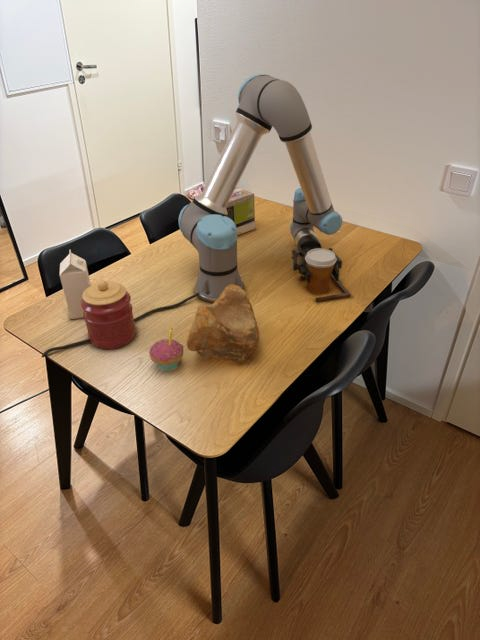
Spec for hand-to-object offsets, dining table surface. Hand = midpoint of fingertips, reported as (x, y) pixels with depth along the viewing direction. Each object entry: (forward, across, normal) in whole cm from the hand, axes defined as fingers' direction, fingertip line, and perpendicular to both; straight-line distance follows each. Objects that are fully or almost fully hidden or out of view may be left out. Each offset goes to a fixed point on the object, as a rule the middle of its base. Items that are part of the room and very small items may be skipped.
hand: (323, 278), depth 149 cm
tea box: (-51, +24, -7) cm, 57 cm away
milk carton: (0, +73, -7) cm, 73 cm away
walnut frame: (-5, -2, -7) cm, 8 cm away
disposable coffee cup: (-5, 0, -7) cm, 8 cm away
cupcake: (+28, +46, -7) cm, 55 cm away
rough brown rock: (+23, +30, -7) cm, 39 cm away
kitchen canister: (+14, +62, -7) cm, 64 cm away
